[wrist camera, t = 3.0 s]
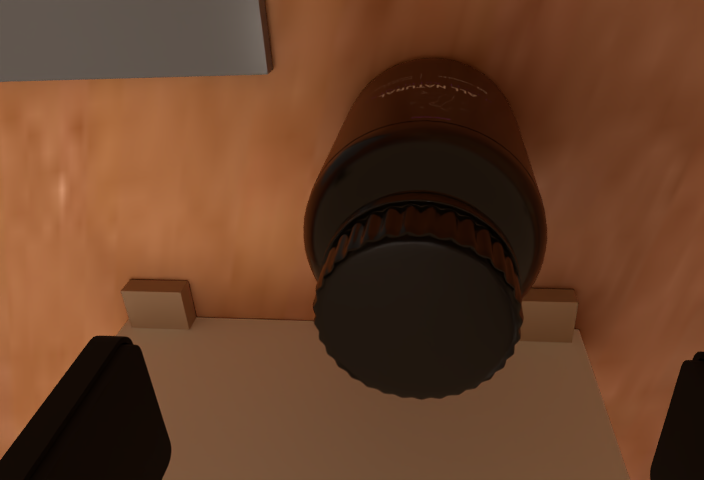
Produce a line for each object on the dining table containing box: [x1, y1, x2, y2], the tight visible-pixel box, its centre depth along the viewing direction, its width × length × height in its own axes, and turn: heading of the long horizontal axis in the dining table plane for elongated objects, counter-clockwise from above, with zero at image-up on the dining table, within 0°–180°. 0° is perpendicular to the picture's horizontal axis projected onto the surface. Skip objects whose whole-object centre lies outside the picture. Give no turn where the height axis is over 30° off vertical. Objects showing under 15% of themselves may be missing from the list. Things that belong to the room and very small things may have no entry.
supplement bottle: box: [303, 58, 547, 400], centre depth 18 cm, size 7×7×12 cm
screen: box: [116, 280, 630, 480], centre depth 23 cm, size 22×6×14 cm, turn 93°
